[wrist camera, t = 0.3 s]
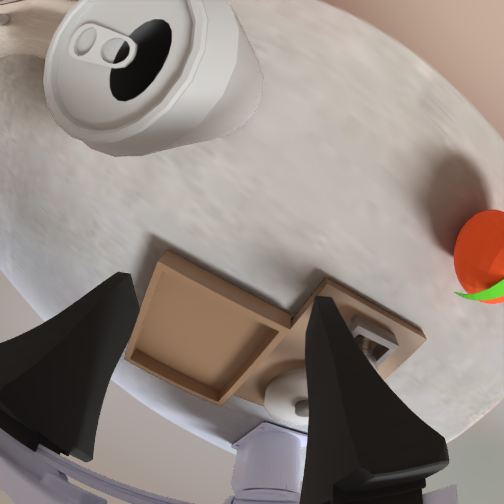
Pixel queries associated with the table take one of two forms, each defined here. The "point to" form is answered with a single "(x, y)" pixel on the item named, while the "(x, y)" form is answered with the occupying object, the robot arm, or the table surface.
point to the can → (150, 74)
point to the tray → (202, 330)
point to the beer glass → (30, 25)
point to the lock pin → (367, 349)
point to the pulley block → (293, 353)
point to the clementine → (481, 257)
